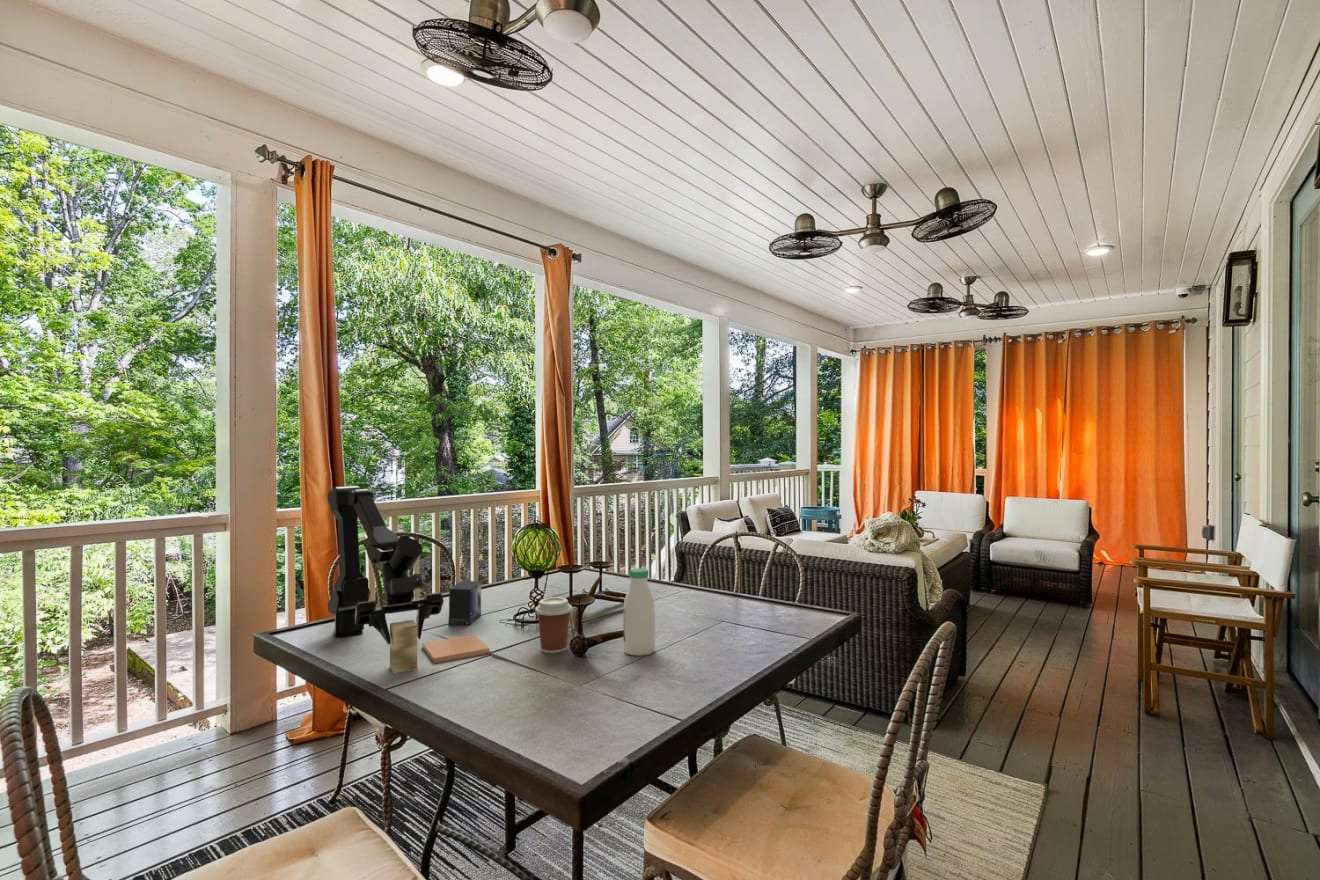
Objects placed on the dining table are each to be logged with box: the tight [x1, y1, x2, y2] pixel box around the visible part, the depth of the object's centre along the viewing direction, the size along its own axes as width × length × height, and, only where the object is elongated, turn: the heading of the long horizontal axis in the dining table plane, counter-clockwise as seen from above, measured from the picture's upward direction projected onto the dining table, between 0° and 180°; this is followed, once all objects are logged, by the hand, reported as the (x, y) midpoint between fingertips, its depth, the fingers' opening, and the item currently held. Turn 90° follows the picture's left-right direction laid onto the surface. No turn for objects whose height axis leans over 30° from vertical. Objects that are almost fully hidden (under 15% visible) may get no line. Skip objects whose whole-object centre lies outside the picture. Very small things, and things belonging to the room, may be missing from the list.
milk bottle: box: [622, 567, 656, 657], centre depth 151 cm, size 8×8×20 cm
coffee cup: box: [534, 596, 573, 654], centre depth 153 cm, size 9×9×12 cm
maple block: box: [389, 619, 418, 674], centre depth 140 cm, size 5×5×10 cm
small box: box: [448, 580, 482, 626], centre depth 178 cm, size 11×6×10 cm, turn 179°
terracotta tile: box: [421, 634, 490, 664], centre depth 152 cm, size 13×13×1 cm
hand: (404, 640), depth 139 cm, fingers open, 6 cm apart
